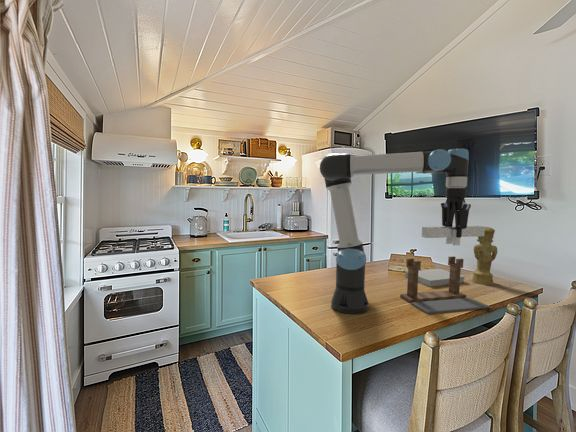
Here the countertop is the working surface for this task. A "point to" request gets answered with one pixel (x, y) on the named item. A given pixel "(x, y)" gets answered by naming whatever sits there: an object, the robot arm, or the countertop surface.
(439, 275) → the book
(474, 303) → the mat
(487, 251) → the statue
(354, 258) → the robot arm
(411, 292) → the rack
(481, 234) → the rail
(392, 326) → the countertop surface
